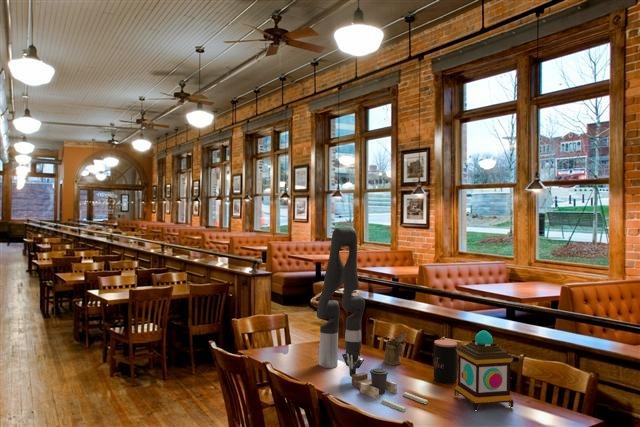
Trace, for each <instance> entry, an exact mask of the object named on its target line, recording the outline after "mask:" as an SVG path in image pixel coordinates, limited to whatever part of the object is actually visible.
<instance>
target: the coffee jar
mask: <svg viewBox="0 0 640 427" xmlns="http://www.w3.org/2000/svg"><path fill="white" fill-rule="evenodd" d="M433 342H434V347H433V379H434V381H436V382H437V383H440V384H445V385H446V384H447V385H451V384H455V383H456V381H458V353H457V351H456V348H458V342H457V341H455V340H451V339H436V340H434V341H433Z"/></svg>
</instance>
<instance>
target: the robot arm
mask: <svg viewBox="0 0 640 427" xmlns="http://www.w3.org/2000/svg"><path fill="white" fill-rule="evenodd" d="M341 248H348V256H347V260H346V262H345V265H344V263H343V261H342V259H341V257H340V250H341ZM329 249H330V250H329V257H328V261H327V265H326V268H325V269H326V270H325V274H324V281H323V286H322V289H321V293H320V297H319V300H318V302H317V307H316V314H317V317H318V318H319V319H321V320H328V321H326V323H324V324H322V325H320V328H319V345H318V365H319V366H320V367H321V368H325V369H333V368H337V367H338V358H339V356H338V355H339V350H338V349H339V348H338V347H339V328H340V326H339V325H340V323H339V322H340V311H341V310H340V304H339V301H338V300H334V299H333V300H331V298H332V296H333V294H334V293H335V292H336V291H337V290H338V289H339V288H340V287H341V286H342V284H343V293H342V298H341V299H342V300H341V305H342V308H343V310H344V311H345V312H347V313H348V312H349V313H350V312H353V313H352V314H350V315H349V316H347V317H346V318H345V331H344V334H345V335H344V349H345V352H344V353H342V354H341V355H342V358H343V361H344V364H345V365H346V367H348V368H349V372H348V373H349V377H351V378H352V375H353V374H357V369H360V367H362V365H363V362H364V361H365V359H364V358H362V356H361V350H362V318H363V314H364V311H365V306H366V300H365V299H364V297H363V295H359V294H358V295H352V293H353V292H354V291H358V290H359V289H360V288H359V287H360V284H359V276H358V265H357V264H358V236H357V231H356V229H355V228H353V227H335V228H334V229H333V231H332V234H331V241H330V248H329Z"/></svg>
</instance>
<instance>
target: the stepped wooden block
mask: <svg viewBox="0 0 640 427" xmlns="http://www.w3.org/2000/svg"><path fill="white" fill-rule="evenodd" d="M359 390H360V393H362V394H364V395H366V396H368V397H371V398H373V399H375V400H378V399H380V395H379V389H378V388H375V387H373V386H370V385H368V384H365V383H361V386H360V388H359ZM385 391H388V392H391V393H393V394H398V383H396V382H393V381H391V380H388V379H387V380H386V388H385Z"/></svg>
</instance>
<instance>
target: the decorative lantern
mask: <svg viewBox="0 0 640 427" xmlns="http://www.w3.org/2000/svg"><path fill="white" fill-rule="evenodd" d="M493 339H494V338H493V336H492V334H491V333H490V332H488V331H487V330H481V331H479V332H478V333H477V334H476V335H475V338H474V339H473V340H471V341H470V342H468V343H466V344H461V345H460V346H457V348H456V351H457V384H456V386H455V388H454V397H455V396H458V397H459V396H462V397H464V398H465V399H466V400H468V401H469V402H471V403H472V405H473V410H474V411H475V410H477V411H478V409H479V406H480V405H490V404H491V405H492V404H504V403H508V407H509V406H510V407H513V408H514V402H515V401H514V398H513V396H512V395H511V363H512V362H513V360H514V357H513V356H512V355H511V354H510V353H508V351H506V350H505V349H502V348H501V347H499V346H498V345H497V344H496V342H493Z"/></svg>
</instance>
